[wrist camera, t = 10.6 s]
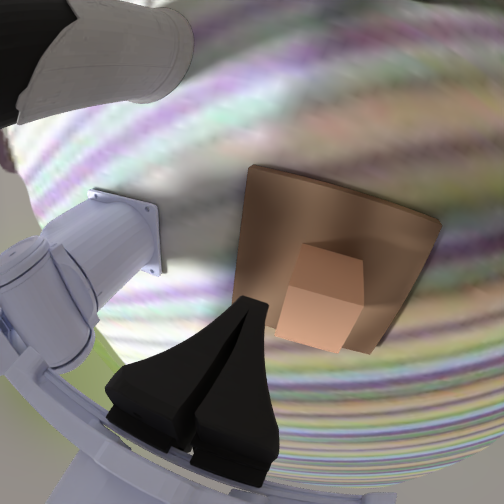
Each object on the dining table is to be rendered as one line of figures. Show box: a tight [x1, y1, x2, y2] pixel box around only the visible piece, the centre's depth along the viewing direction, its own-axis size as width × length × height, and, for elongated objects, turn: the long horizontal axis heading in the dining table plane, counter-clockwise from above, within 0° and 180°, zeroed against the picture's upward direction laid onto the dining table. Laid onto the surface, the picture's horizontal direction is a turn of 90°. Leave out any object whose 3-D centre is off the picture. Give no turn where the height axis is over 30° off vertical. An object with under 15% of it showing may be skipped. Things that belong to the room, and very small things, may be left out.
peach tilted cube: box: [274, 243, 364, 353], centre depth 18 cm, size 5×5×5 cm
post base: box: [232, 165, 442, 354], centre depth 19 cm, size 14×14×5 cm
